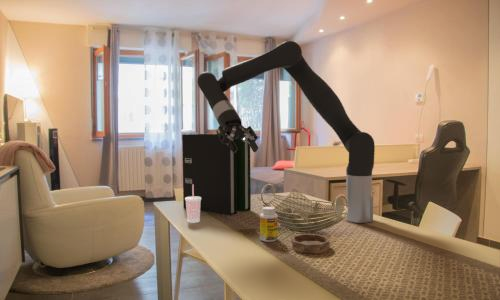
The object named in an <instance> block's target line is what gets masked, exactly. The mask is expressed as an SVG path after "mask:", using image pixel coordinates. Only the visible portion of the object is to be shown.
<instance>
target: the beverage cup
mask: <svg viewBox="0 0 500 300" xmlns="http://www.w3.org/2000/svg"><path fill="white" fill-rule="evenodd" d="M185 201H186V208H185V209H186V220H187V223H189V224H196V223H199V222H200V221H201V210H200V204H201V197H199V196H194V184H192V196H190V197H186V198H185Z"/></svg>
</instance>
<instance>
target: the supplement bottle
mask: <svg viewBox="0 0 500 300" xmlns="http://www.w3.org/2000/svg"><path fill="white" fill-rule="evenodd" d="M278 219H279V217H278V214H277V213H276V208H275V206H263V207H262V212H261V213H260V214H259V239H260V241H262V242H266V243H272V242H276V241H277V240H278V235H279V234H278V229H279V228H278V226H279V224H278V221H279V220H278Z"/></svg>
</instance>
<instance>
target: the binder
mask: <svg viewBox="0 0 500 300" xmlns="http://www.w3.org/2000/svg"><path fill="white" fill-rule="evenodd" d="M226 136H227V138H228V135H227V134H226ZM181 137H182V139H181V142H182V144H181V146H182V148H181V149H182V191H183V193H182V194H183V200H182V201H183V208H185V209H186V201H185V198H186V197H190V196H192V184H194V196H199V197H201V204H200V212H202V211H203V212H206V213H207V212H208V213H211V214H212V213H213V214H217V213H218V214H219V215H223V214H224V216H228V215H230V216H229V217H231V216H232V215H237V214H238V211H239V212H244V213H246V211H251V210H252V209H251V208H252V206H251V205H252V204H251V203H252V201H251V197H252V196H251V194H252V193H251V189H252V188H251V186H252V185H251V184H252V183H251V147H250V145H249V143H247V142H246V141H245V142H244V141H242V140H241V139H233V140H232V141H234V142H235V144H236V146H237V148H238V150H237V152H236V153H233V151H231V149H230V147H229V145H227V144H226V143H224V144H222V143H221V141H220V139H219V137H218V134H217V133H197V134H195V133H193V134H191V133H190V134H186V133H185V134H182V135H181ZM243 137H244V138H245V137H246V134H244V136H243ZM247 139H248V140H250V138H247Z"/></svg>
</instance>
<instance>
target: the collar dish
mask: <svg viewBox="0 0 500 300" xmlns="http://www.w3.org/2000/svg"><path fill="white" fill-rule="evenodd" d="M329 247H330V239H329V238H328V236H325V235H321V234H317V233H316V234H315V233H299V234H296V235H294V236H291V249H292V250H293V251H295V252H297V253H300V254H305V255H318V254H325V253H326V252H328V251H330V250H329V249H330V248H329Z"/></svg>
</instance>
